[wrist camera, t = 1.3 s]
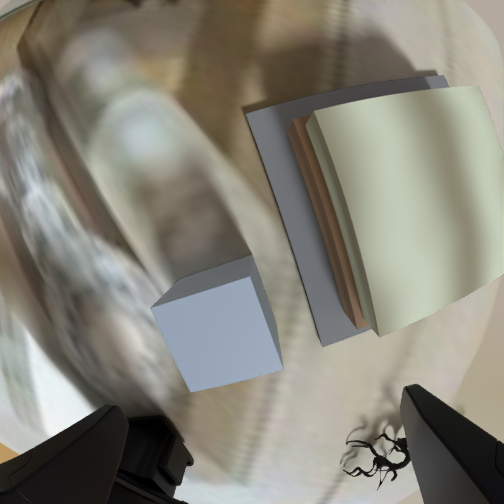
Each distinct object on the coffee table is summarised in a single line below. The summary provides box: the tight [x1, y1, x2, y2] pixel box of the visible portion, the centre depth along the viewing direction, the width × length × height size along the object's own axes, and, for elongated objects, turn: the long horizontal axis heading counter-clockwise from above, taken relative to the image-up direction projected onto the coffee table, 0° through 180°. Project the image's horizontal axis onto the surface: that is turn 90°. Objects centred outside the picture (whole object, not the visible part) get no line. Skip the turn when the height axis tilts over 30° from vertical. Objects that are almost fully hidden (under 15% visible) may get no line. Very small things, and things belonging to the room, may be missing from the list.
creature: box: [343, 433, 411, 490], centre depth 19 cm, size 8×5×8 cm
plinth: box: [288, 85, 504, 337], centre depth 15 cm, size 12×12×6 cm
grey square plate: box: [246, 75, 449, 347], centre depth 18 cm, size 16×16×1 cm
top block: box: [150, 255, 283, 392], centre depth 16 cm, size 5×5×6 cm
